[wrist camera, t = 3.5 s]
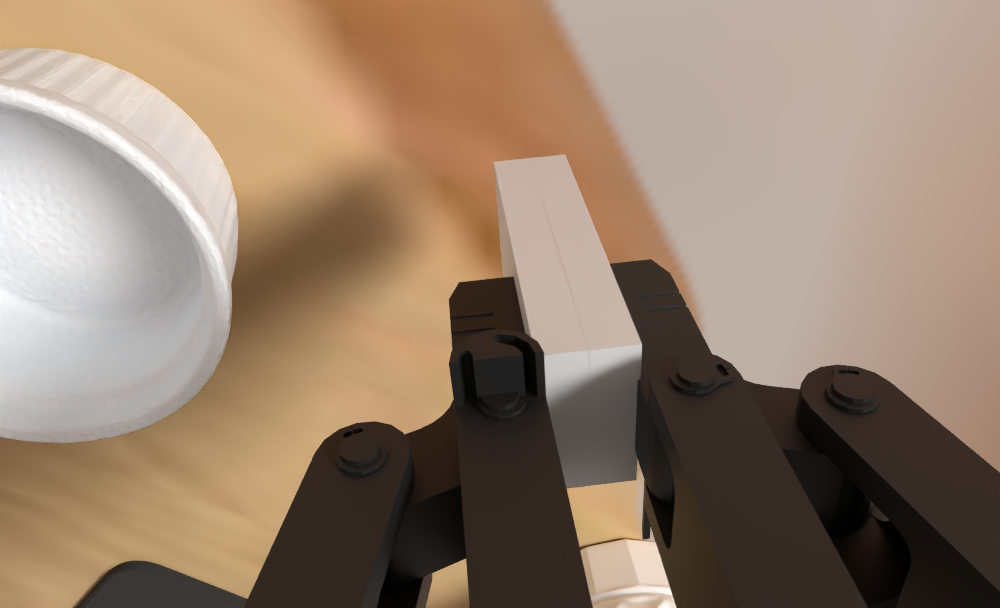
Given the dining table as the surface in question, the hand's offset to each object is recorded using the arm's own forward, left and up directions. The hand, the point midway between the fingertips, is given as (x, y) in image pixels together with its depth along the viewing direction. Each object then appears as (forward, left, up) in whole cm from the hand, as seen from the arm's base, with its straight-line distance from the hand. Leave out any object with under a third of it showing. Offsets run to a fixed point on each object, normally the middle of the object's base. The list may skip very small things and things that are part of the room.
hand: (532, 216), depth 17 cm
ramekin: (0, +11, -4) cm, 12 cm away
